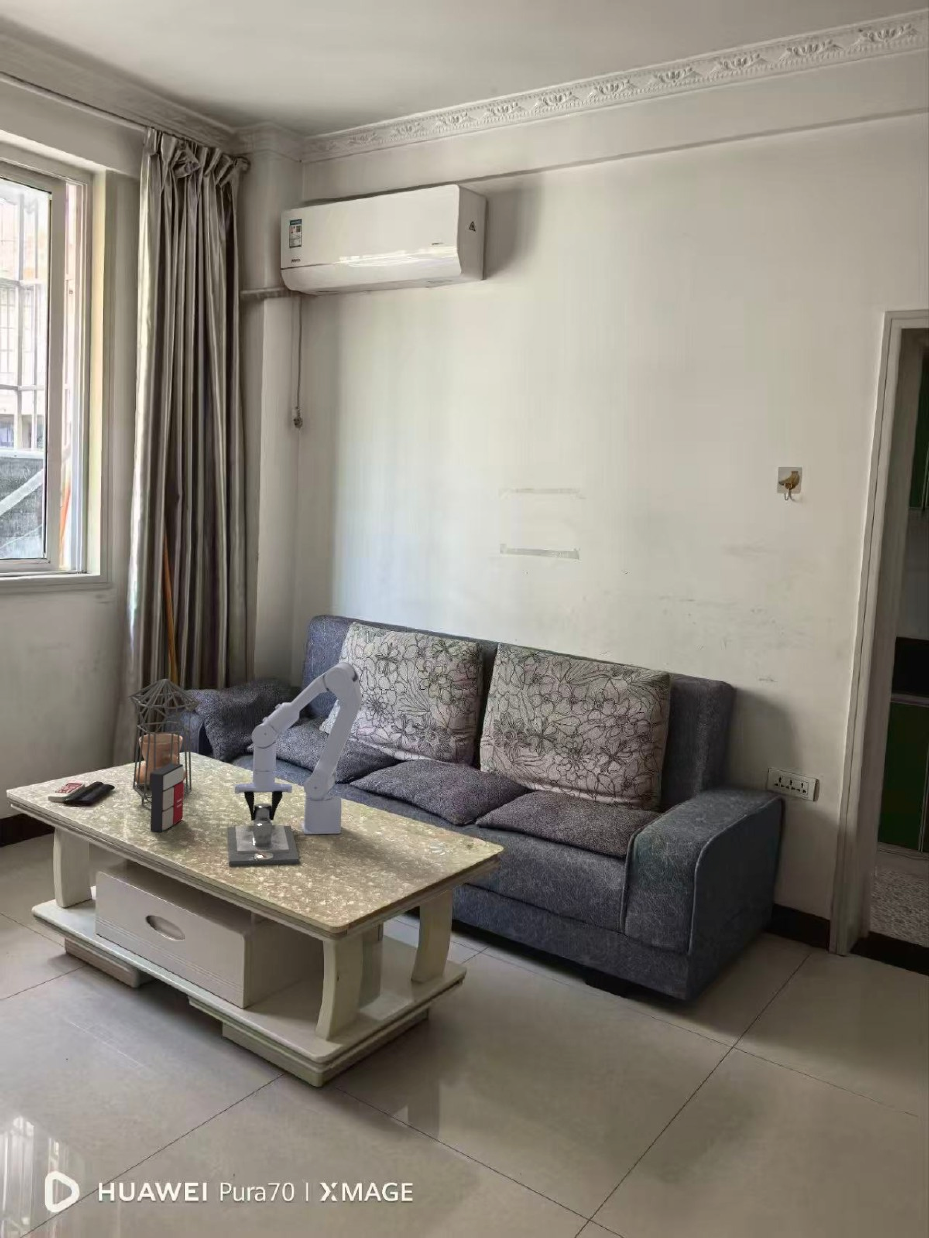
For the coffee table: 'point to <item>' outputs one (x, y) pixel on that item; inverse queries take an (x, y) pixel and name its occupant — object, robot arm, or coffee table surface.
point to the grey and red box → (166, 796)
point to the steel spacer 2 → (262, 833)
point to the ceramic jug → (158, 754)
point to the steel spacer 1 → (262, 812)
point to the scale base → (261, 857)
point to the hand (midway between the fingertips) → (262, 819)
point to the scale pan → (246, 846)
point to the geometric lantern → (159, 685)
